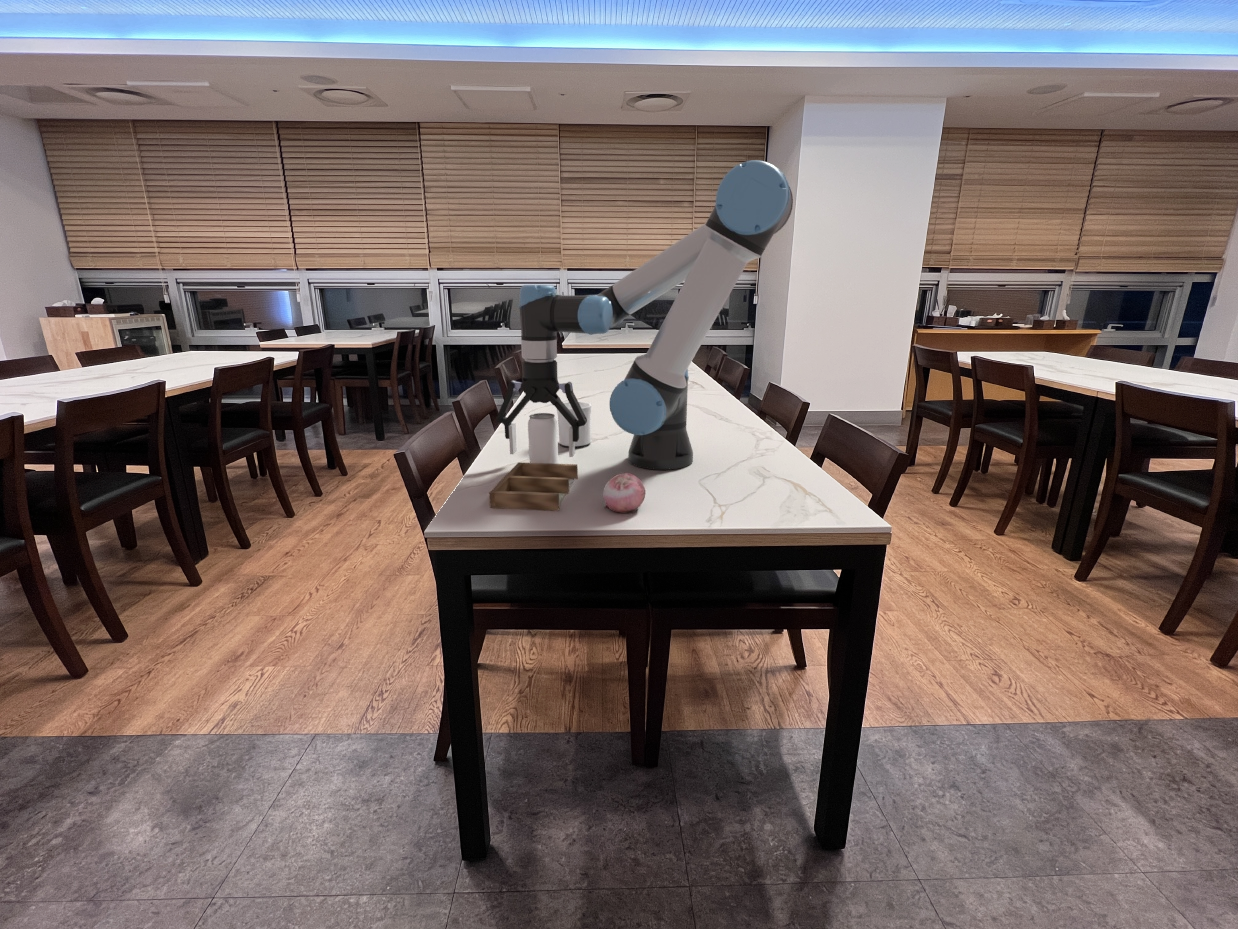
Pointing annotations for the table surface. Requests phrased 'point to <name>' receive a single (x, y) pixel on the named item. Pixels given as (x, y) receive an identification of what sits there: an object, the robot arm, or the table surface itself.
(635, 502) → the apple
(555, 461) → the can
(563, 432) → the mug
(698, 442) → the table surface
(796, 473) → the table surface
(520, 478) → the comb rack
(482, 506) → the table surface
